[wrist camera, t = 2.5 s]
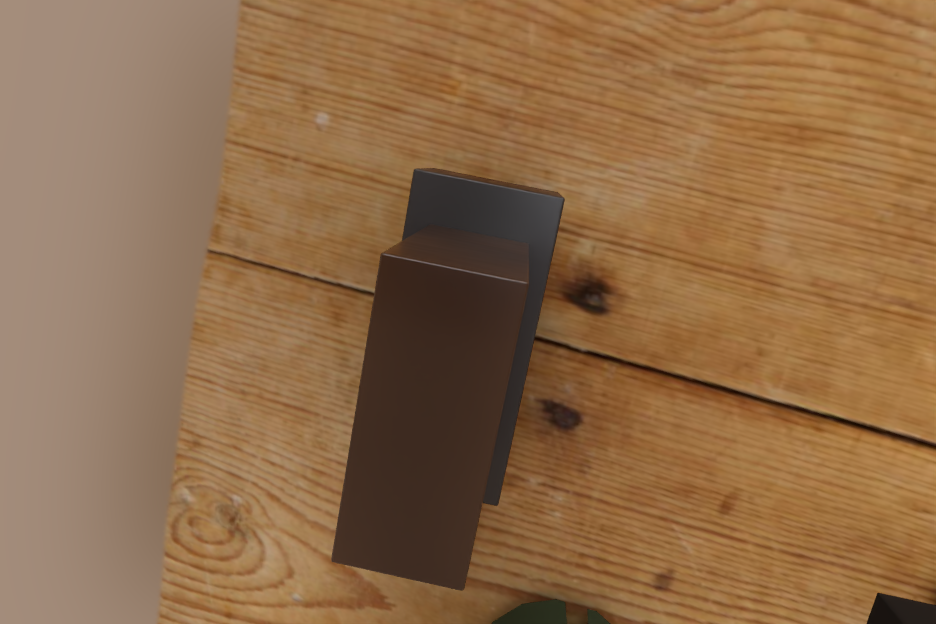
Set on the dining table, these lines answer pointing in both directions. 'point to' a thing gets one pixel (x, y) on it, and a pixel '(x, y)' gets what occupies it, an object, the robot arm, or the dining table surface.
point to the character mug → (544, 614)
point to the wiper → (444, 373)
